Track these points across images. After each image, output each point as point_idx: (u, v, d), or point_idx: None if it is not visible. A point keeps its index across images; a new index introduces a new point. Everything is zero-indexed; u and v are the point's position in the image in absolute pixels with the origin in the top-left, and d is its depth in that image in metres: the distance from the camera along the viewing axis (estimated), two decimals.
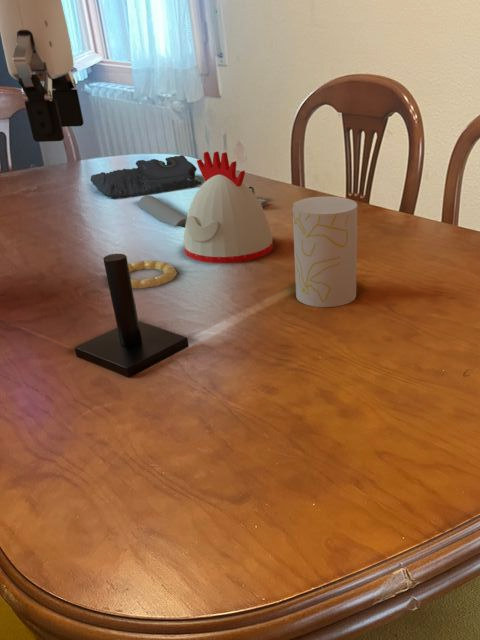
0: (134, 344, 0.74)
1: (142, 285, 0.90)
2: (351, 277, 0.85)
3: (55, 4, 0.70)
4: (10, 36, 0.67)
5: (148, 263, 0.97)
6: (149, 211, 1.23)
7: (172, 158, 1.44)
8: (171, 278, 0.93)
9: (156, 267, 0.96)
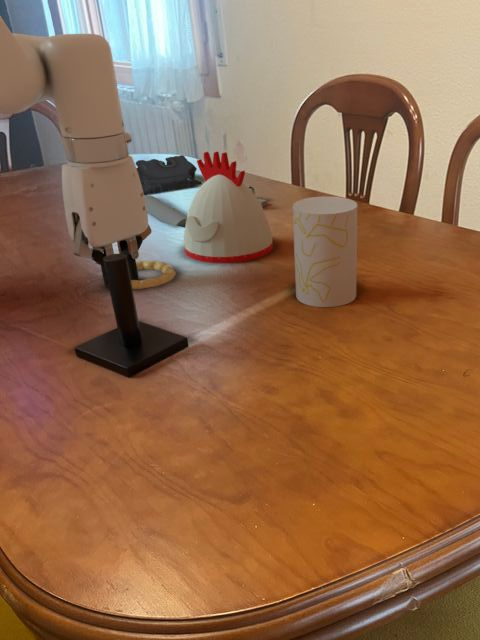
0: (134, 344, 0.74)
1: (141, 285, 0.90)
2: (351, 277, 0.85)
3: (114, 189, 0.83)
4: (68, 214, 0.83)
5: (147, 263, 0.96)
6: (149, 211, 1.23)
7: (172, 158, 1.44)
8: (170, 278, 0.92)
9: (155, 267, 0.96)
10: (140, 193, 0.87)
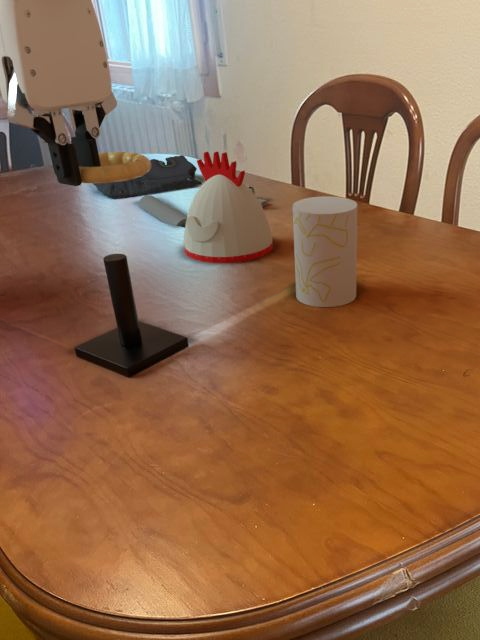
0: (134, 344, 0.74)
1: (104, 173, 0.67)
2: (351, 277, 0.85)
3: (60, 26, 0.60)
4: None
5: (113, 154, 0.74)
6: (149, 211, 1.23)
7: (172, 158, 1.44)
8: (143, 167, 0.70)
9: (124, 159, 0.73)
10: (99, 41, 0.64)
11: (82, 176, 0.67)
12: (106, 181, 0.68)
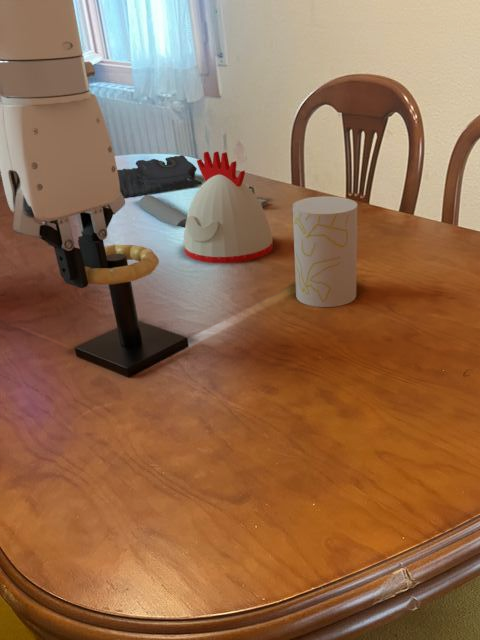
0: (134, 344, 0.74)
1: (111, 275, 0.66)
2: (351, 277, 0.85)
3: (68, 139, 0.59)
4: (4, 174, 0.59)
5: (121, 248, 0.73)
6: (150, 211, 1.23)
7: (172, 158, 1.44)
8: (151, 266, 0.69)
9: (131, 253, 0.72)
10: (108, 147, 0.63)
11: (88, 278, 0.66)
12: (113, 283, 0.67)
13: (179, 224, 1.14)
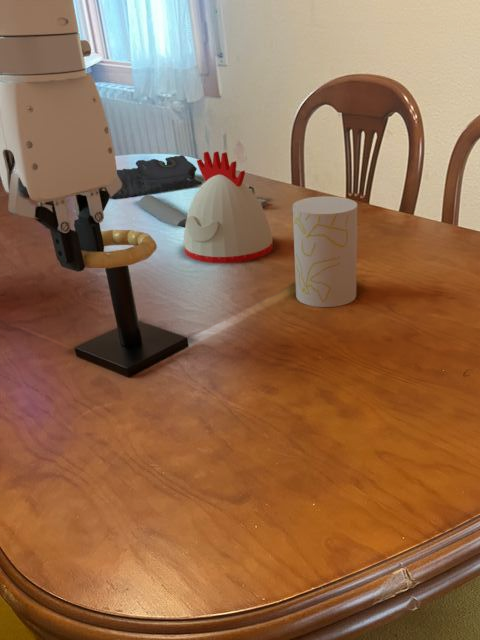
0: (134, 344, 0.74)
1: (107, 259, 0.65)
2: (351, 277, 0.85)
3: (64, 118, 0.58)
4: None
5: (118, 232, 0.72)
6: (150, 211, 1.23)
7: (172, 158, 1.44)
8: (148, 251, 0.68)
9: (129, 238, 0.71)
10: (104, 128, 0.62)
11: (85, 262, 0.65)
12: (109, 267, 0.66)
13: (179, 224, 1.14)
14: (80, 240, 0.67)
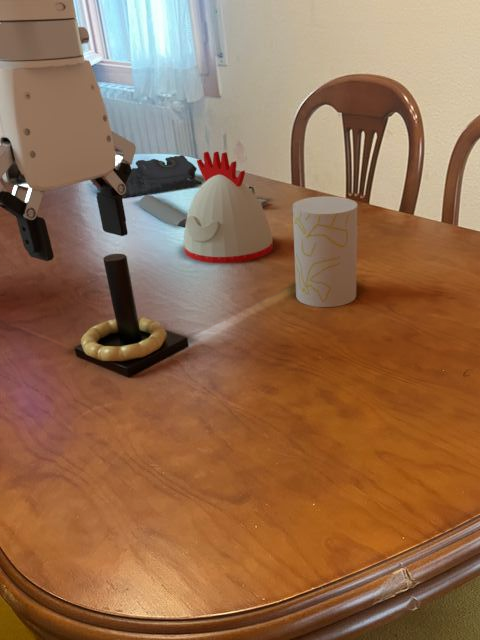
0: None
1: (122, 354, 0.70)
2: (351, 277, 0.85)
3: (62, 105, 0.57)
4: None
5: None
6: (150, 211, 1.23)
7: (172, 158, 1.44)
8: (159, 342, 0.73)
9: (140, 325, 0.77)
10: (103, 116, 0.61)
11: (101, 356, 0.71)
12: (124, 360, 0.71)
13: (180, 224, 1.14)
14: (102, 212, 0.68)
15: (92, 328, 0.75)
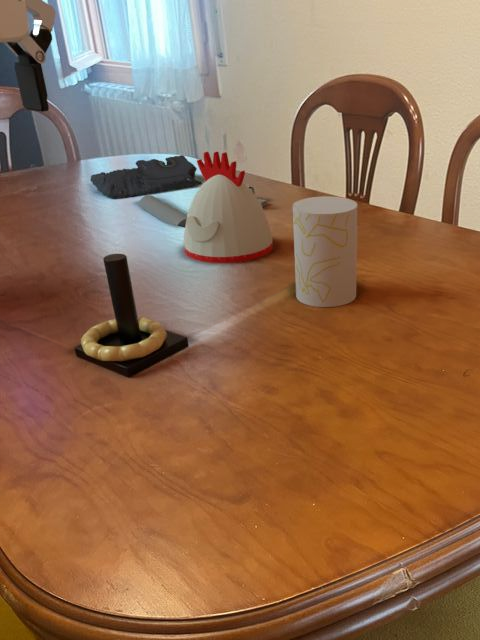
0: None
1: (122, 354, 0.70)
2: (351, 277, 0.85)
3: None
4: None
5: None
6: (150, 211, 1.23)
7: (172, 158, 1.44)
8: (159, 342, 0.73)
9: (140, 325, 0.77)
10: None
11: (101, 356, 0.71)
12: (124, 360, 0.71)
13: (180, 224, 1.14)
14: (21, 85, 0.63)
15: (92, 328, 0.75)
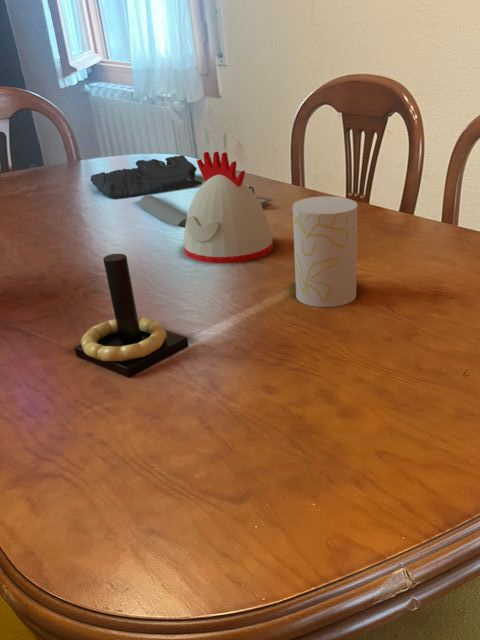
0: None
1: (122, 354, 0.70)
2: (351, 277, 0.85)
3: None
4: None
5: None
6: (150, 211, 1.23)
7: (172, 158, 1.44)
8: (159, 342, 0.73)
9: (140, 325, 0.77)
10: None
11: (101, 356, 0.71)
12: (124, 360, 0.71)
13: (180, 224, 1.14)
14: None
15: (92, 328, 0.75)
